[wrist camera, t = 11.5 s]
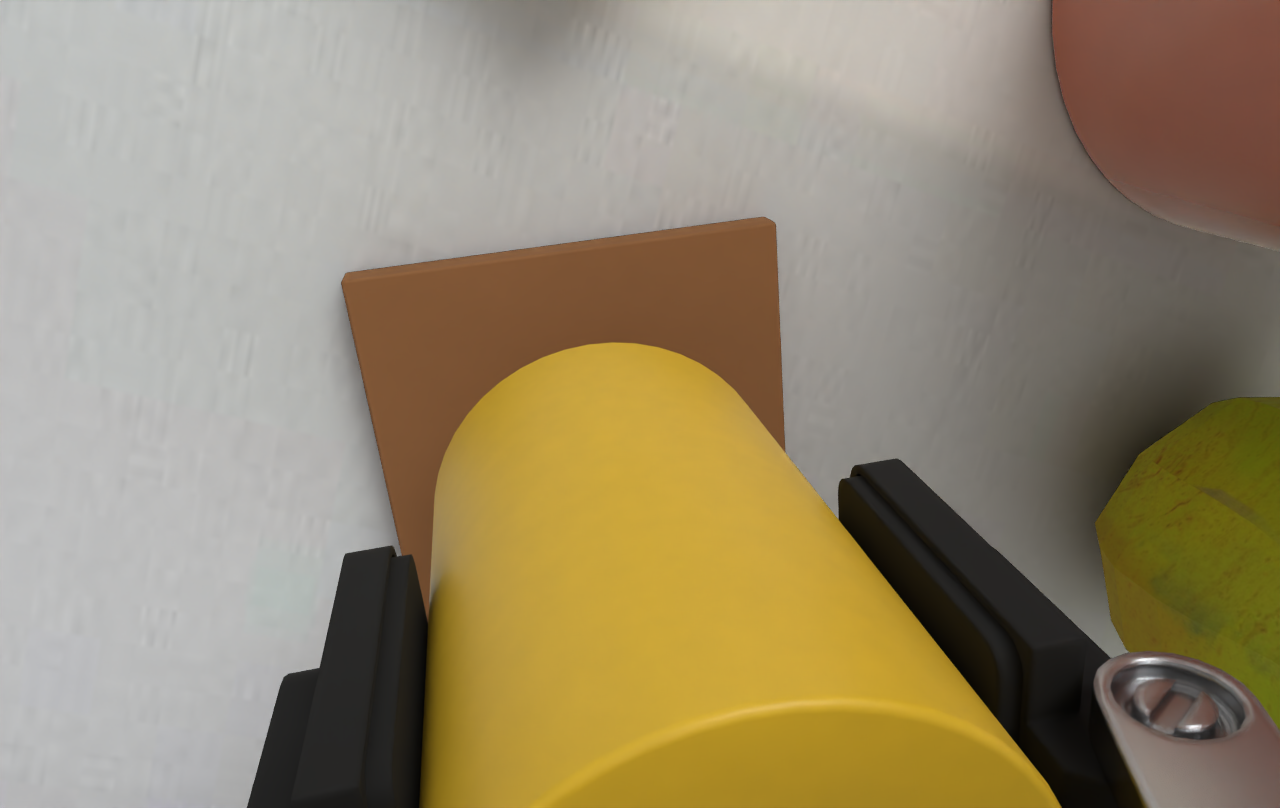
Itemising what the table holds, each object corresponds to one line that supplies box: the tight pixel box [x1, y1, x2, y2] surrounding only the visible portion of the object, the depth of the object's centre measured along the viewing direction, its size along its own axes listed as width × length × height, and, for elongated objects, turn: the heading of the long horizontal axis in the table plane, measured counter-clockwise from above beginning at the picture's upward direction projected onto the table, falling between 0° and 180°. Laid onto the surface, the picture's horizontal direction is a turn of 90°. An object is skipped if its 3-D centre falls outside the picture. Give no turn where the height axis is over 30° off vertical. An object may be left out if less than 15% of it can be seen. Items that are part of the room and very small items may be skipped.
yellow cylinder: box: [419, 342, 1062, 808], centre depth 11 cm, size 5×5×8 cm
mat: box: [341, 217, 785, 620], centre depth 16 cm, size 7×7×1 cm
